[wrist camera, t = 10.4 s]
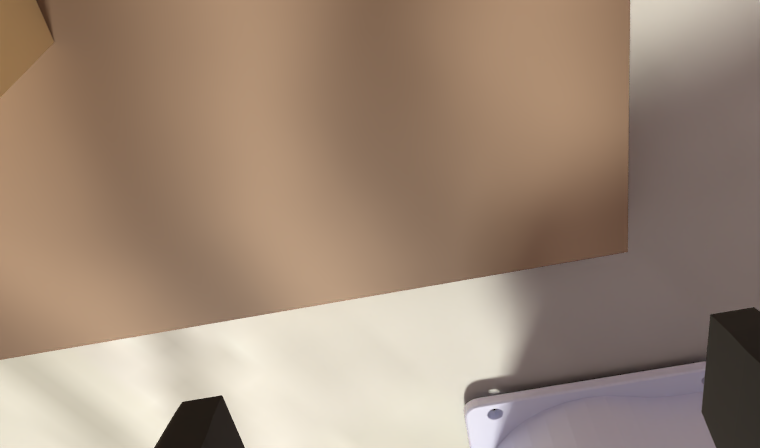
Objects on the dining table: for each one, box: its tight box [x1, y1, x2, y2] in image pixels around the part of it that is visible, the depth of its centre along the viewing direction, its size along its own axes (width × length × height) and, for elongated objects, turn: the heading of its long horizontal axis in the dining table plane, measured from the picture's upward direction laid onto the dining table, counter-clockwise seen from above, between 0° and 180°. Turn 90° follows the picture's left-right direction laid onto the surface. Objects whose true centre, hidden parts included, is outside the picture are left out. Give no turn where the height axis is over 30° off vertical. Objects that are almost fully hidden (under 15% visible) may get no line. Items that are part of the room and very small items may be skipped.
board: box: [0, 0, 630, 360], centre depth 16 cm, size 22×16×2 cm
